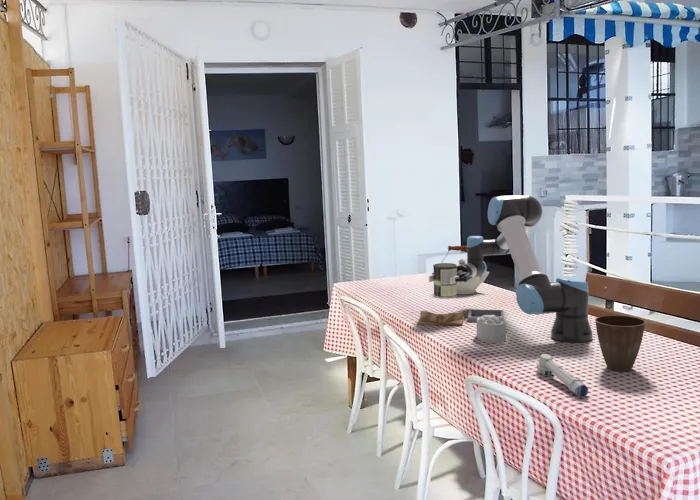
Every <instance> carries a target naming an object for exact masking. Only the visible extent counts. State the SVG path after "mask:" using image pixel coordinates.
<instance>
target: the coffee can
mask: <svg viewBox="0 0 700 500" xmlns="http://www.w3.org/2000/svg"><path fill="white" fill-rule="evenodd" d="M456 264H457V263H452V262H439V263H435V264H433V265H432V267H433V273H434V281H433V298H435V299H446V300H447V299H448V300H449V299H455V298H457V296H458V294H457V283H454V284H450V278H452V277H455V276H457V265H456Z"/></svg>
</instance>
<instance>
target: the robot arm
mask: <svg viewBox="0 0 700 500" xmlns="http://www.w3.org/2000/svg"><path fill="white" fill-rule="evenodd" d="M489 201H490V202H489V203H488V206H487V207H488V208H487V220H488V223H489V224H490V225H492V226H496V228H497V231H498V232H500V235H499V236H497V238H495V239H484V237H483V236H481V235H469V236H468V237H467V240H466V246H467V251H466V262H465V263H466V264H463V265H460V266H457V276H455V277H452V278H450V284H454V283H457V282H459V281H460V282H463V281H464V282H467V281H469V279H472V278H475V277H480V276H482V275H483V274H484V273H485V272H486V271H487V269H488V266H487V264H486V262H485V261H484V257H487V256H502V255H503V256H505V255H511V258H512V260H513V264H514V266H515V269H516V272H517V275H518V278H519V282H518V284H517V288H516V290H515V299H516V303H517V305H518V307H519V309H520V310H521V311H522V312H523V313H524V314H527V315H537V316H539V315H543V314H544V315H545V314H555V318H554V321H553V324H552V327H551V329H550V337H551V339H554V340H557V341H560V342H564V343H565V342H567V343H584V342H589V341H592V340H593V330H592V327H591V323H590V321H589V294H590V291H589V284H588V282H587V281H586V280H584V279H580V278H576V277H567V276H557V277H556V279H555V281H551V282H550V279H549V277H548V275H547V274H545V273H543V272H542V270H541V267H540V265H539V262H538V259H537V257H536V254H535V252H534V249H533V246H532V244H531V241H530V239H529V236H528V233H527V231H528V230H529V228H531V227H534V226H535V225H537V224H538V223H539V222H540V220H541V218H542V215H543V207H542V205H541V202H539V200H538V199H537V198H535V197H534V196H532V195H527V194H521V195H518V194H517V195H499V196H493V197H492V198H491V199H490V200H489ZM432 282H434V272H432V273H431V274H430V275H428V283H432Z"/></svg>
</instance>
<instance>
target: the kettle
mask: <svg viewBox="0 0 700 500" xmlns="http://www.w3.org/2000/svg"><path fill="white" fill-rule="evenodd" d="M451 251H457V252H458V251H460V252H462V251H466V252H467V245H455V246H454V245H453V246H451V245H448V246H447V254H446V255H445V256H444V257H443V259H442V260H441V263H444V260H445V258H447V256H448V255H449V253H450V252H451ZM466 263H467V260H465V259H464V258H460V259H459V260H458V263H455V264H456V265H457V266H460V265H463V264H466ZM489 274H490V271H487V270H486V272H485V273H484V274H483V275H481V276H479V277H475V278H472V279H469V281H467V282H464V281H463V282H460V281H459V282H457V295H472V294H475V293H476V292H477V289H478V288H479V287H480V285H481V284H482V283H483V282H485V280H486V278H487V277H488V276H489Z"/></svg>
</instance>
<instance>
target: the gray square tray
mask: <svg viewBox="0 0 700 500" xmlns="http://www.w3.org/2000/svg"><path fill="white" fill-rule="evenodd" d="M467 315H468V316H467V322H468V323H469V322H470V323H477V318H479V317H480V316H472V315H495V316H497V315H498V316H502V317H503V318H504V310H503V309H470V308H469V310H468V314H467ZM504 319H505V318H504Z"/></svg>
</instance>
